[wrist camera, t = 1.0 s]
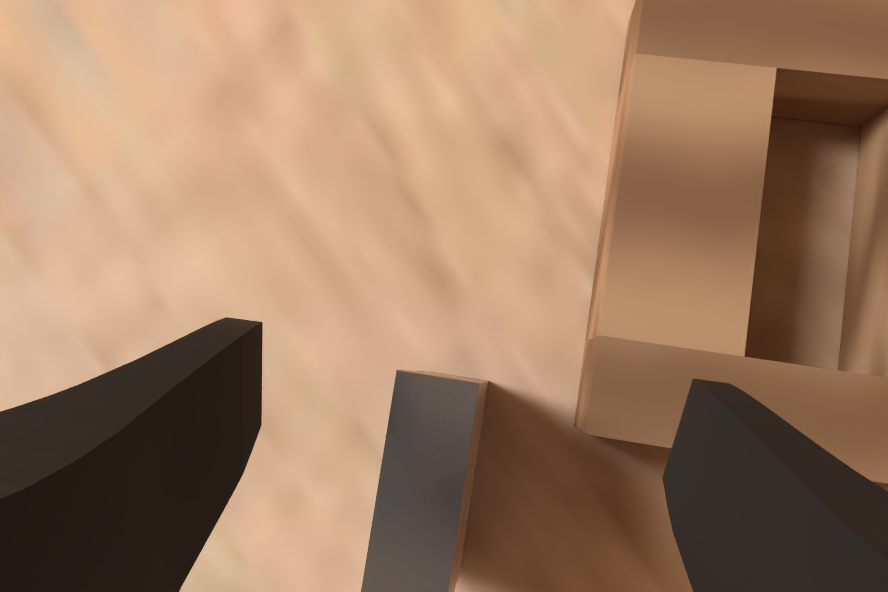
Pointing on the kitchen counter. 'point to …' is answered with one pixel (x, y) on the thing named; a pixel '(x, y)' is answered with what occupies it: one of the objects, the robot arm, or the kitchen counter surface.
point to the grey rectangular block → (425, 483)
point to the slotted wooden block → (734, 218)
